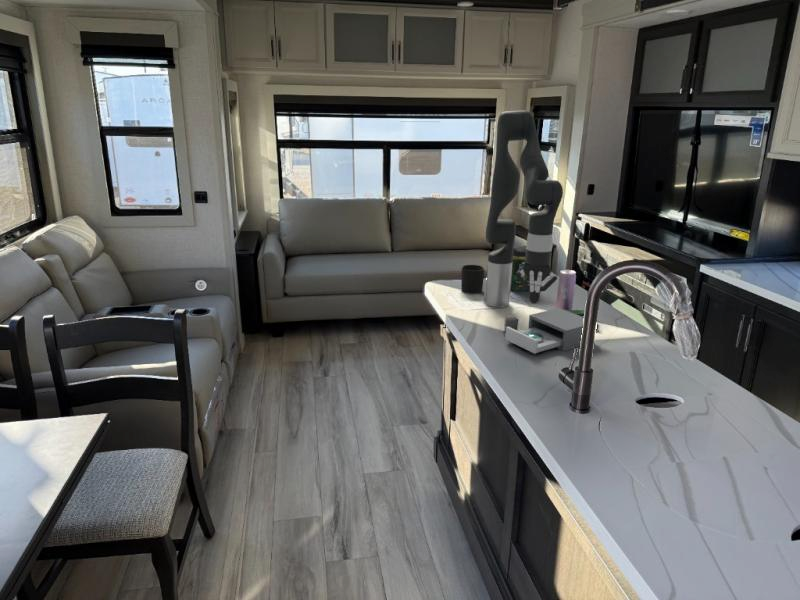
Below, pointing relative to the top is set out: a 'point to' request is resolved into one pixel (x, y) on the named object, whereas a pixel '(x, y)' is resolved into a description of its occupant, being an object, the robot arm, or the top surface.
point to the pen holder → (472, 279)
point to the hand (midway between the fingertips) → (534, 302)
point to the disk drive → (580, 313)
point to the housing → (559, 326)
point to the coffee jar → (518, 268)
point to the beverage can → (566, 289)
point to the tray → (532, 339)
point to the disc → (536, 336)
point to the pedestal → (511, 323)
